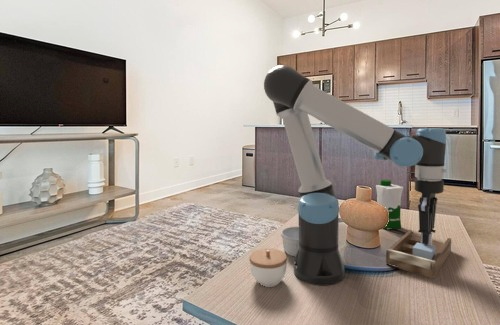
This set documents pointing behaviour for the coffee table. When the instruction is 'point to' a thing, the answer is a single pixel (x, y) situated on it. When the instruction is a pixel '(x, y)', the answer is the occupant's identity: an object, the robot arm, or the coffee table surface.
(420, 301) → the coffee table surface
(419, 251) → the blue block
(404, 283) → the coffee table surface
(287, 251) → the ramekin
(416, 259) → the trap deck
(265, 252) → the lidded jar
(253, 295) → the coffee table surface
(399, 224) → the milk carton
